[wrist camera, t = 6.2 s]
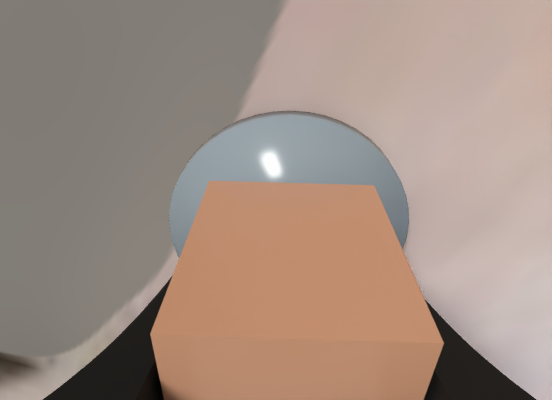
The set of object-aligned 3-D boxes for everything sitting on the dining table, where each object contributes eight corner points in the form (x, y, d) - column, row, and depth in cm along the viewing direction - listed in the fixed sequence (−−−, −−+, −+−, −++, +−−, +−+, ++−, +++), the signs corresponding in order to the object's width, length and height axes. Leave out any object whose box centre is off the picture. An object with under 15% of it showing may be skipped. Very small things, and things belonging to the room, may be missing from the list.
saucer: (384, 305, 17) (388, 318, 17) (188, 301, 17) (183, 315, 17) (424, 112, 13) (432, 119, 12) (158, 109, 13) (151, 116, 12)
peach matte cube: (353, 305, 14) (392, 486, 9) (218, 301, 14) (180, 479, 9) (374, 185, 12) (443, 343, 7) (209, 180, 12) (150, 334, 7)
